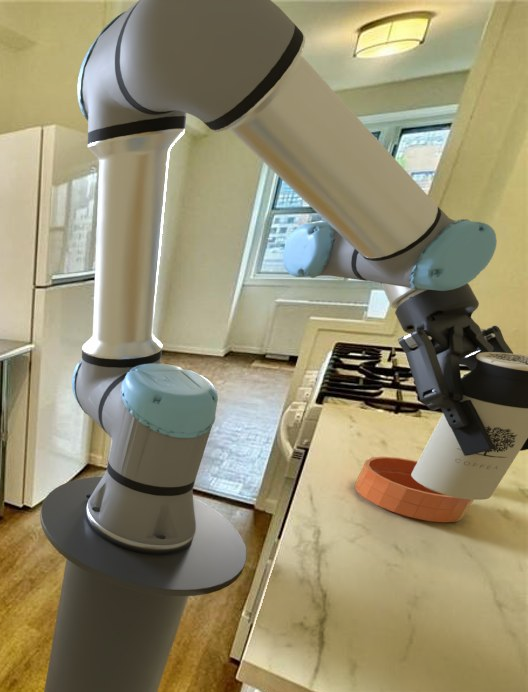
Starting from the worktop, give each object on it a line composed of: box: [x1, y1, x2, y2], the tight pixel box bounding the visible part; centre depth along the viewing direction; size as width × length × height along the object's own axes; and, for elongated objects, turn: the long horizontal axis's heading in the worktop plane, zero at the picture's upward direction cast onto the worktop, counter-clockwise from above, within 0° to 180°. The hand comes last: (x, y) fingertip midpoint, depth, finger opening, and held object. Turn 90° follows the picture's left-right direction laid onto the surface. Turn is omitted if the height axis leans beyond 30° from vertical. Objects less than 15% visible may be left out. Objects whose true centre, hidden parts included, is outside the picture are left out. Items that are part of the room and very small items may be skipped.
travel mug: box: [411, 352, 528, 501], centre depth 63 cm, size 8×8×18 cm
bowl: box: [354, 456, 474, 523], centre depth 80 cm, size 14×14×5 cm
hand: (507, 449), depth 60 cm, fingers closed on travel mug, 8 cm apart
